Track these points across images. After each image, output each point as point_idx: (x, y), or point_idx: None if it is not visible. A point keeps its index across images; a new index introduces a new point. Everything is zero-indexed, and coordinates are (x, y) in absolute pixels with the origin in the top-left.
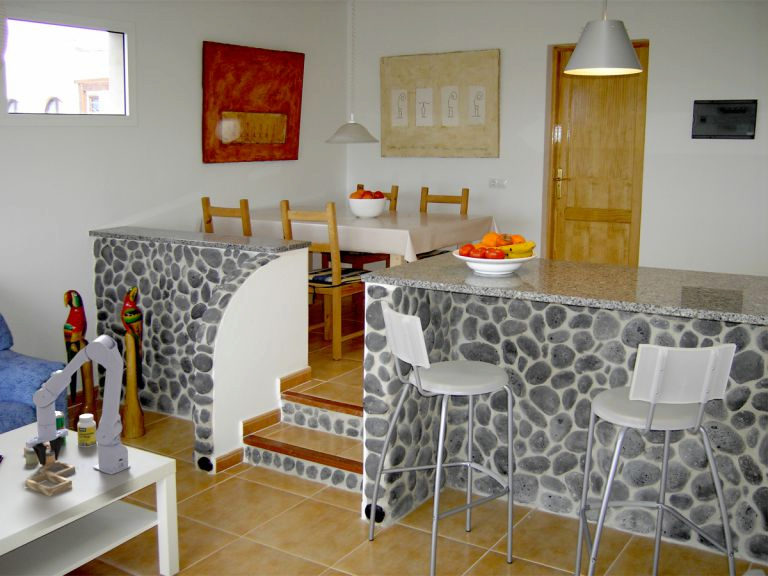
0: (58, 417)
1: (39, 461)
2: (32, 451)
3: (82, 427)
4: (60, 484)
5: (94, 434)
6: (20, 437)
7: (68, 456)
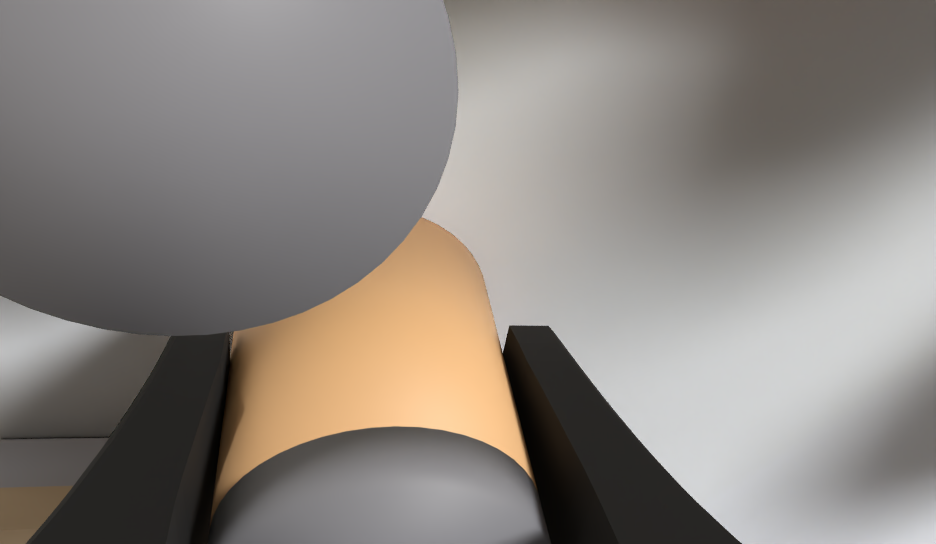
0: None
1: (162, 364)
2: (61, 285)
3: None
4: None
5: None
6: None
7: (895, 232)
